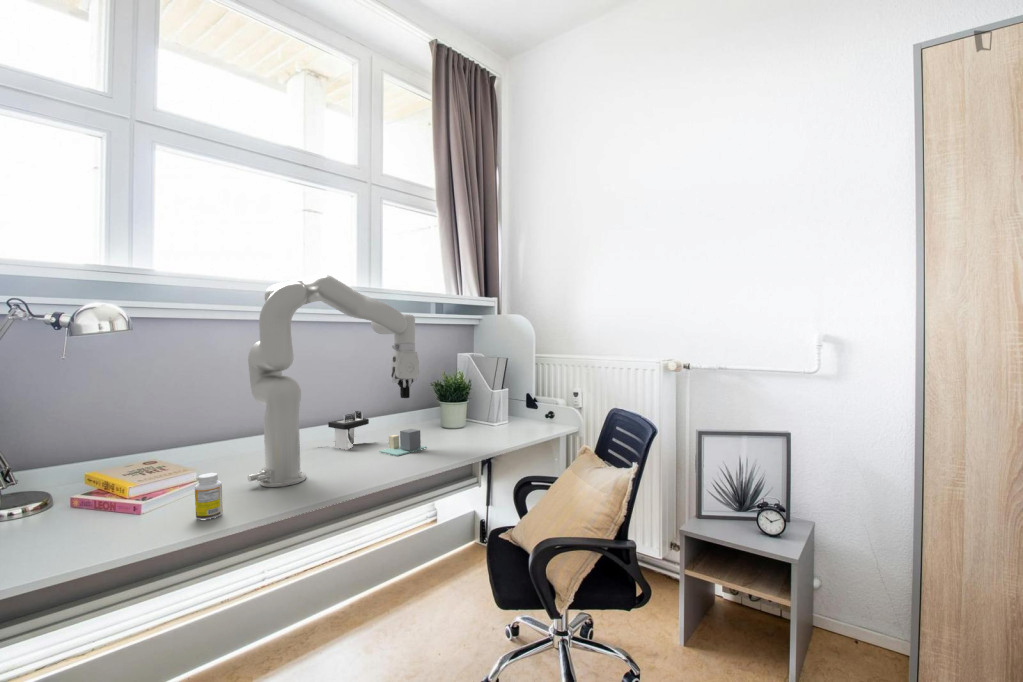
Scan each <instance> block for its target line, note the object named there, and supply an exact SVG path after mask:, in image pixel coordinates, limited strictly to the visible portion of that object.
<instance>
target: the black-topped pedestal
mask: <svg viewBox="0 0 1023 682" xmlns="http://www.w3.org/2000/svg"><path fill="white" fill-rule="evenodd" d="M363 416H364V414H363V411H359V410H354V409H353V413H349V414H343V418H342V419H337V420H333V421H328V422H327V426H328V428H332V429H334V442H335V447H336V448H335V447H334V448H335V449H339V448H341V449H340V450H344V449H345V450H344V451H348V450H351V449H353V448H354V445H352V444H353V443H354V437H355V428H359V427H362V426H366V425H369V421H370V420H369V418H364V417H363ZM352 447H353V448H352ZM350 448H351V449H350Z"/></svg>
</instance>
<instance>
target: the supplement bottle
mask: <svg viewBox="0 0 1023 682" xmlns="http://www.w3.org/2000/svg"><path fill="white" fill-rule="evenodd" d="M218 478H219V475H218V473H217V472H208V473H203V474H200V475H198V480H197V484H196V485H195V486H194V502H195V503H194V504H195V518H196V519H197V520H198V519H210V518H214V519H216V518H215V517H217V516H219V517H220V516H222V515H223V513H224V512H223V511H224V510H223V483H222V481H220V480H219V479H218ZM217 518H218V517H217ZM210 520H211V519H210Z"/></svg>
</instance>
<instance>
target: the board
mask: <svg viewBox="0 0 1023 682" xmlns="http://www.w3.org/2000/svg"><path fill="white" fill-rule="evenodd" d="M388 441H389V442H388V448H385V449H382V450H379V452H381V453H380V454H384V453H386V454H385V455H388V454H390V456H393V455H395V456H394V457H400V456H399V455H401V456H403V454H404V455H407V453H408V454H411V453H410V452H412V453H415V452H418V451H417V450H419V451H422V450H421V449H423V450H425V449H424V448H426V449H427V448H428V447H427V446H424V445H421V448H418V449H415V450H411V451H409V450H404V449H400V435H397V434H392V435H388ZM414 451H415V452H414Z"/></svg>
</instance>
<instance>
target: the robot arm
mask: <svg viewBox="0 0 1023 682" xmlns="http://www.w3.org/2000/svg"><path fill="white" fill-rule="evenodd" d="M264 301H265V302H264V304H263V305H262V307H261V311H260V313H259V320H258V325H259V326H258V327H259V329H258V331H259V341H256V342H255V343H254V344H253V345H252V346H251V347H250V348H249V349H250V350H249V352H248V357H247V358H248V359H247V362H248V372H249V374H248V375H249V383H250V389H251V394H252V396H253V399H254V400H255V401H256V402H257V403H259V404H261V405H263V406H265V411H264V417H263V432H264V434H263V435H264V437H263V438H264V466H265V467H261V471H260V470H259V472H258V473H252V474H248V476H247V480H248V482H254V481H257V482H259V485H260V486H262V487H266V488H278V487H280V488H281V487H287V486H291V485H296V484H299V483H301V482H303V481H305V480H306V479H307V474H306V472H304V471H301V450H300V449H301V446H300V445H301V444H300V441H301V440H300V438H301V437H300V407H301V401H302V400H301V399H302V389H301V386H300V384H299V383H298V382H297V380H296V379H294V378H292V377H290V376H287V375H283V374H282V373H283V371H286V370H288V369H289V368H290V367H291V366H292V365H293V361H294V348H293V340H292V339H293V338H292V319H293V316H294V315H295V313H296V312H297V311H298V309H300V308H302V306H304V305H308V304H311V303H315V302H322V303H324V304H326V305H328V306H330V307H331V308H333V309H335V310H337V311H339V312H340V313H342V314H344V315H346V316H348V317H350V318H355V319H360V320H366V321H369V322H371V323H370V325H371V328H372V331H374V332H376V333H377V334H379V335H393V337H394V340H393V342H394V344H393V345H392V346H391V347H392V348H391V349H393V352H392V356H391V365H390V377H391V378H392V381H391V382H392V383H393V384H397V385H398V387H399V388H400V389H399V390H400V391H399V393H400V399H410V392H411V391H410V390H411V389H410V388H411V386H412V384H413V383H414V382H416V381H418V378H419V377H420V362H419V361H420V360H419V354H418V351H416V318H415V316H414V315H413V314H408V313H407V314H403V313H402V312H400V311H399V310H397V309H396V308H394V307H392V306H391V305H389V304H387V303H385V302H382V301H380V300H377V299H375V298H373V297H370V296H367V295H365V294H362V293H361V292H359V291H356V290H355V289H354V288H351V287H350V286H348V285H346V284H345V283H343V282H342V281H340V280H339V279H337V278H335V277H333V276H332V275H329V274H326V273H322V274H315V275H310V276H306V277H303V278H302V277H301V278H298V279H293V280H289V281H285V282H279V283H276V284H275V283H274V284H272V285H271V286H269V287H268V288H267V289H266V290H265V293H264Z"/></svg>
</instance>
